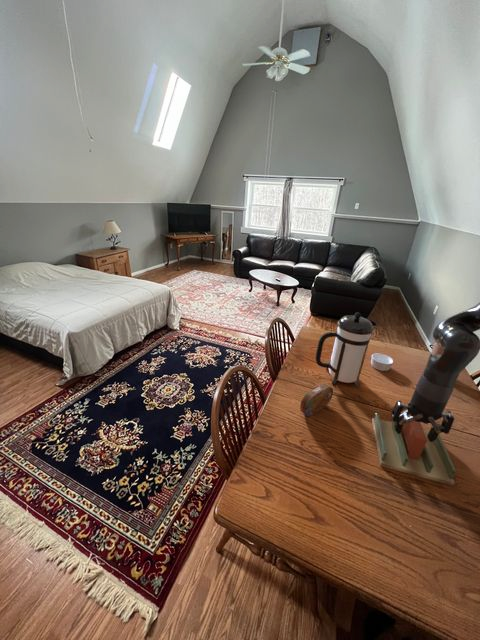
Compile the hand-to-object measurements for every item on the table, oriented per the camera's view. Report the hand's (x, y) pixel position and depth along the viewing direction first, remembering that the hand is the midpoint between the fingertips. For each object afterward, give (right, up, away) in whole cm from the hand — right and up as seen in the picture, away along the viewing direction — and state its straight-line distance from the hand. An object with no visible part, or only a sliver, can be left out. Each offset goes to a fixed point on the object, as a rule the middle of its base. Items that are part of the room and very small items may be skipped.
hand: (413, 435), depth 79 cm
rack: (0, -5, +2) cm, 6 cm away
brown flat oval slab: (-25, +2, +16) cm, 30 cm away
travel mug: (+36, +11, +40) cm, 55 cm away
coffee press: (-10, +10, +33) cm, 36 cm away
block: (0, -4, +2) cm, 5 cm away
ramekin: (+12, +13, +43) cm, 46 cm away
